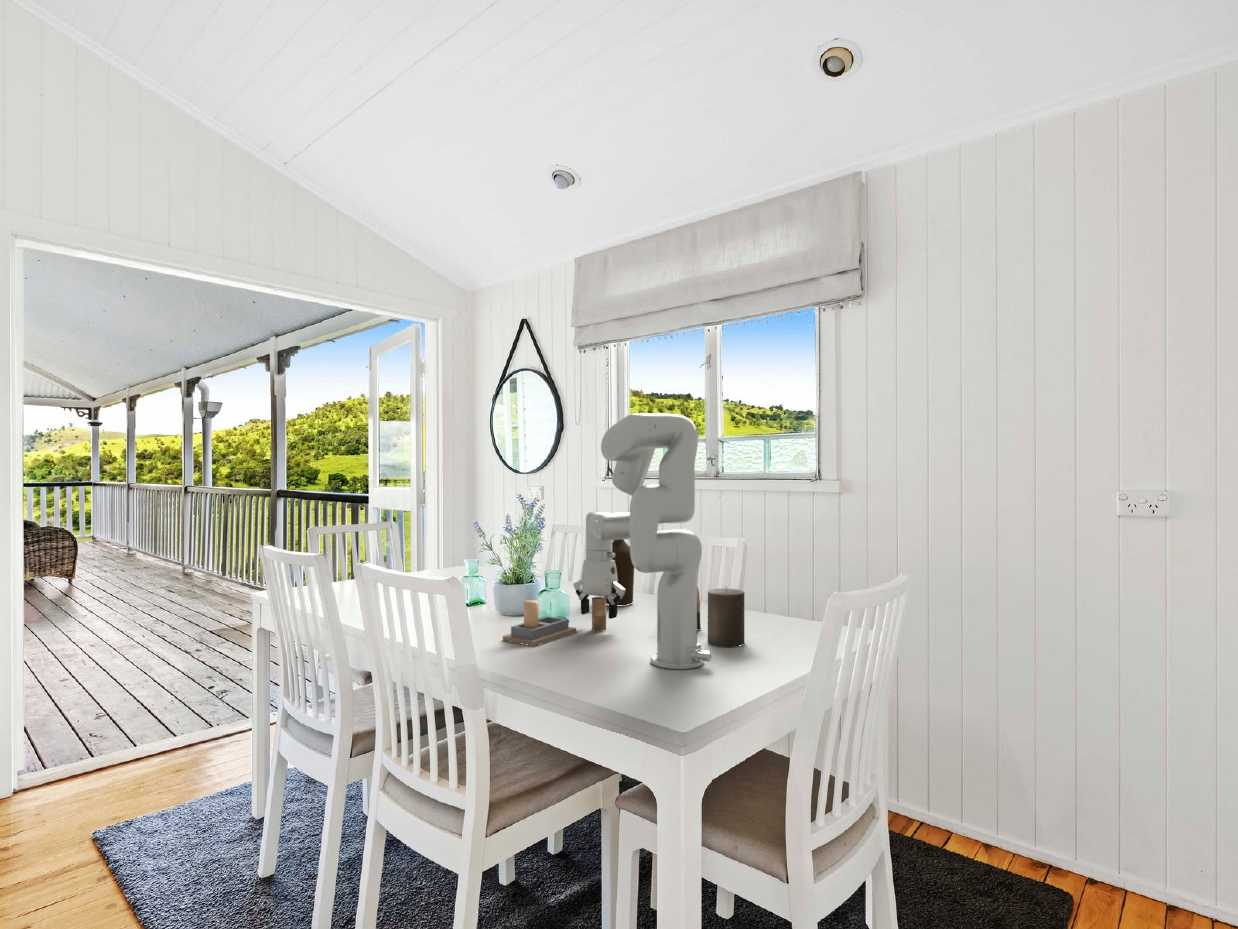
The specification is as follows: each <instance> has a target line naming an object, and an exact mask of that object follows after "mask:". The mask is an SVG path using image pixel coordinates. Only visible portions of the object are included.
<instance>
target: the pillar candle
mask: <svg viewBox="0 0 1238 929" xmlns="http://www.w3.org/2000/svg"><path fill="white" fill-rule="evenodd" d="M745 632H746V631H745V591H744V590H742V589H738V588H727V586H725V588H713V589H708V590H707V643H708V644H709V643H710V644H709V645H711V644H712V645H711V646H714V647H719V648H734V647H733V646H739V645H742V644H744V645H745ZM742 646H743V645H742ZM739 647H740V646H739Z"/></svg>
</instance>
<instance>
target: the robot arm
mask: <svg viewBox="0 0 1238 929" xmlns="http://www.w3.org/2000/svg"><path fill="white" fill-rule="evenodd" d="M698 435H699V434H698V431H697V427H696V425H695V424H694V422H693V421H692V420H691V419H689V418H688V417H686V416H683V415H681V414H680V415H679V414H673V413H648V412H647V413H646V412H644V413H643V412H640V413H639V412H635V413H631V414H630V413H629V414H628V415H626V416H625V417H623V418H622V419H620V420H618V421H617V422H615V423H614V424H613V425H611V426H610V427H609V428H608V429H607V430H606V431H605V433H604V434H603V437H602V439H601V443H600V451H601V455H602V457H603V458H604V459H605V460H607V461H610V462H616V463H615V467H614V469H613V473H612V477H611V483H612V485H613V486H614V487H615V488H616V489H617V490H619V491H621V493H622V492H623V493H625V494H627V495H630V496H631V498H630V503H629V512H628V511H626V512H625V511H623V512H608V511H602V510H601V511H590V512H588V513H587V514H586V516H585V559H584V560H583V563H582V569H581V570H582V571H581V579H580V580H579V579H578V580H577V581H576V582H574V583H573V587H574V590H575V593H576V595H577V597H578V600H579V601H580V614H581V615H585V614H589V613H590V598H588V597H590V596H594V597H607V598H608V600H609V602H610V603H611V604H609V606H608V619H614V618H617V616H618V607H617V603H619V601H620V600H621V599H622V598H623V595H624V593H625V589H624V588H623V587H622V586H620V585H619V584H618V578H617V569H616V564H615V560H612V557H615V553H613V552H612V542H613V541H614V540H624V541H625V540H629V547H630V556H631V561H632V564H633V566H634V569H636V570H637V571H638V572H640V573H644V574H645V573H646V574H650V573H651V574H652V573H653V574H654V573H661V572H663V573H662V574H661V577H660V578H659V581H658V586H657V592H656V594H657V595H656V596H657V597H656V598H657V599H656V601H657V602H656V605H657V606H656V612H657V614H656V618H657V620H656V624H657V625H656V636H657V637H656V638H657V640H656V643H657V646H656V652H654V653H653V654H651V656H650V663H651V664H652V665H654V666H656V667H659V668H661V669H662V668H663V669H668V670H669V669H670V670H688V669H689V670H690V669H695V668H699V667H701V666H702V665H703V664H704V662H708V663H710V662H711V661H712V658H713V656H712V652H711V651H710V650H703V649H702V643H699V642H698V630H697V587H698V583H699V581H698V580H699V579H698V578H699V571H700V564H701V561H702V553H703V552H702V550H703V548H702V543H701V539H700V538H699V537H698V535H697V534H695V532H692V531H691V530H687V529H667V530H658V528H659V526H662V525H663V526H665V525H668V526H669V525H680V524H681V525H682V524H685V523H687V522H688V523H689V522H690V521H691V520H692V519H693V517H694V514H695V511H696V510H695V508H696V506H695V505H696V498H695V497H696V493H695V490H696V484H695V483H696V481H695V480H696V478H695V477H696V476H695V474H696V473H695V468H696V467H695V462H696V457H697V452H698V444H699V436H698ZM656 449H666V452H665V453H664V454H663V456H662V458H661V460H660V463H659V466H658V484H645V485H644V483H645V482H646V477H647V475H648V472H649V468H650V465H651V462H652V460H653V457H654V454H655V451H656ZM617 593H618V595H617V596H616V594H617Z"/></svg>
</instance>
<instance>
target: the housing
mask: <svg viewBox="0 0 1238 929" xmlns="http://www.w3.org/2000/svg"><path fill="white" fill-rule="evenodd" d="M572 633H573V634H576V633H577V628H576V627H571V626H570V625H569V619H568V618H562V617H555V616H549V615H546V616H543V617H540V601H539V600H537V599H527V600H524V601H523V622H522V623H519V624H515V625H511V626H510V633H509V634H505V635H503V636H502V641H503V640H506V641H505V642H508V641H511V642H510V643H513V642H515V643H514V644H518V643H523V644H528V645H532V646H531V647H534V646H535V647H537V646H536V645H538V646H540V645H539V644H541V643H544V644H546V642H547V643H550V642H552V640H553V641H555V640H558V639H561V638H564V637H566V636H567V637H568V636H570V635H573V634H572ZM549 641H550V642H549ZM523 644H522V645H523ZM528 645H527V646H528ZM541 645H542V644H541Z"/></svg>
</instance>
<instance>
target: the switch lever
mask: <svg viewBox="0 0 1238 929" xmlns="http://www.w3.org/2000/svg"><path fill="white" fill-rule="evenodd" d="M591 630H595V631H594V632H597V631H601V632H603V631H602V630H605V631H606V630H607V605H606V598H605V597H602V596H594V597H591Z"/></svg>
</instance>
